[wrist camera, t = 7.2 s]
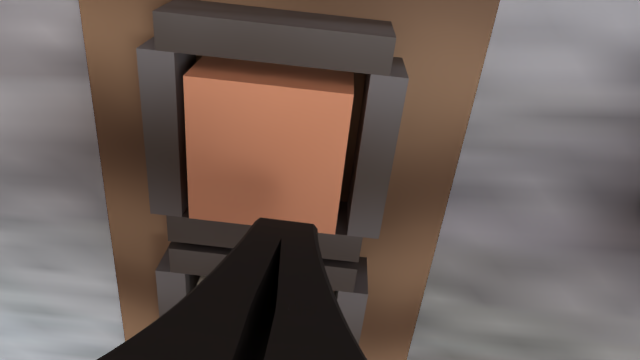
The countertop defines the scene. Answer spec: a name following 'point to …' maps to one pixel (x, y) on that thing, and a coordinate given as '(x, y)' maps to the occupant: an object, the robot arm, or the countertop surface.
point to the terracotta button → (266, 141)
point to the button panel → (361, 154)
